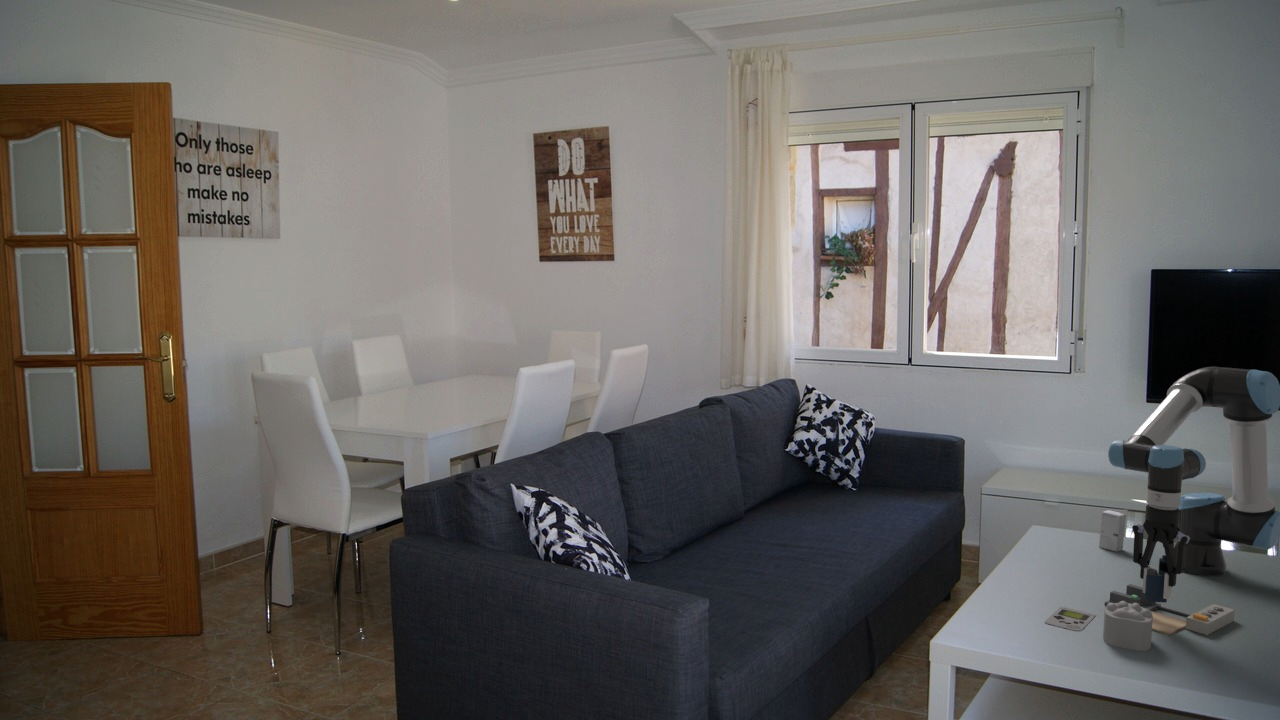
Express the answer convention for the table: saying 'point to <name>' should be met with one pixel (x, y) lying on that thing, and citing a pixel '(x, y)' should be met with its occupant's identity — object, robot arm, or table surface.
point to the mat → (1166, 624)
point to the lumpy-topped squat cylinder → (1128, 626)
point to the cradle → (1138, 599)
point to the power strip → (1210, 619)
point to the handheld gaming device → (1070, 619)
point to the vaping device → (1156, 582)
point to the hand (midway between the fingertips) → (1156, 594)
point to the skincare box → (1112, 530)
